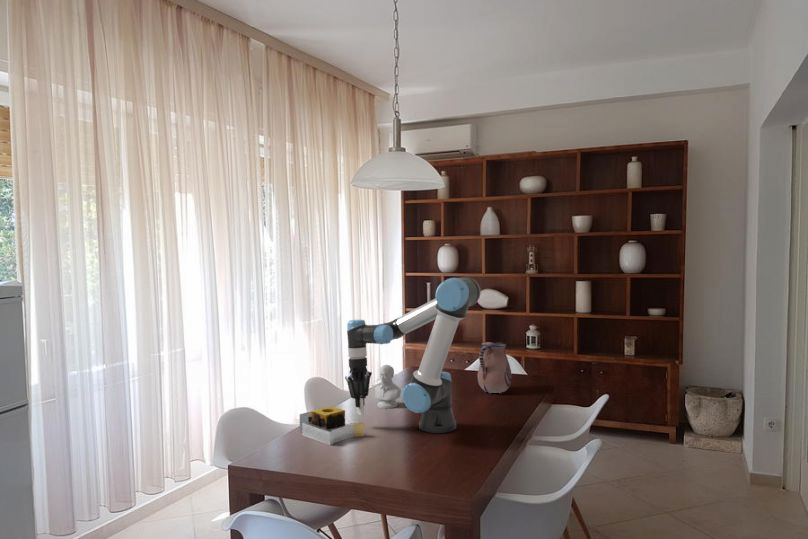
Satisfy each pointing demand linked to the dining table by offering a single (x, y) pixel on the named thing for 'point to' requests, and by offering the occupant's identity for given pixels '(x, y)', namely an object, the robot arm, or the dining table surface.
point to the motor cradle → (331, 434)
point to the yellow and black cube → (328, 417)
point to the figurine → (387, 388)
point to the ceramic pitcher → (494, 368)
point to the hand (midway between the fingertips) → (360, 414)
